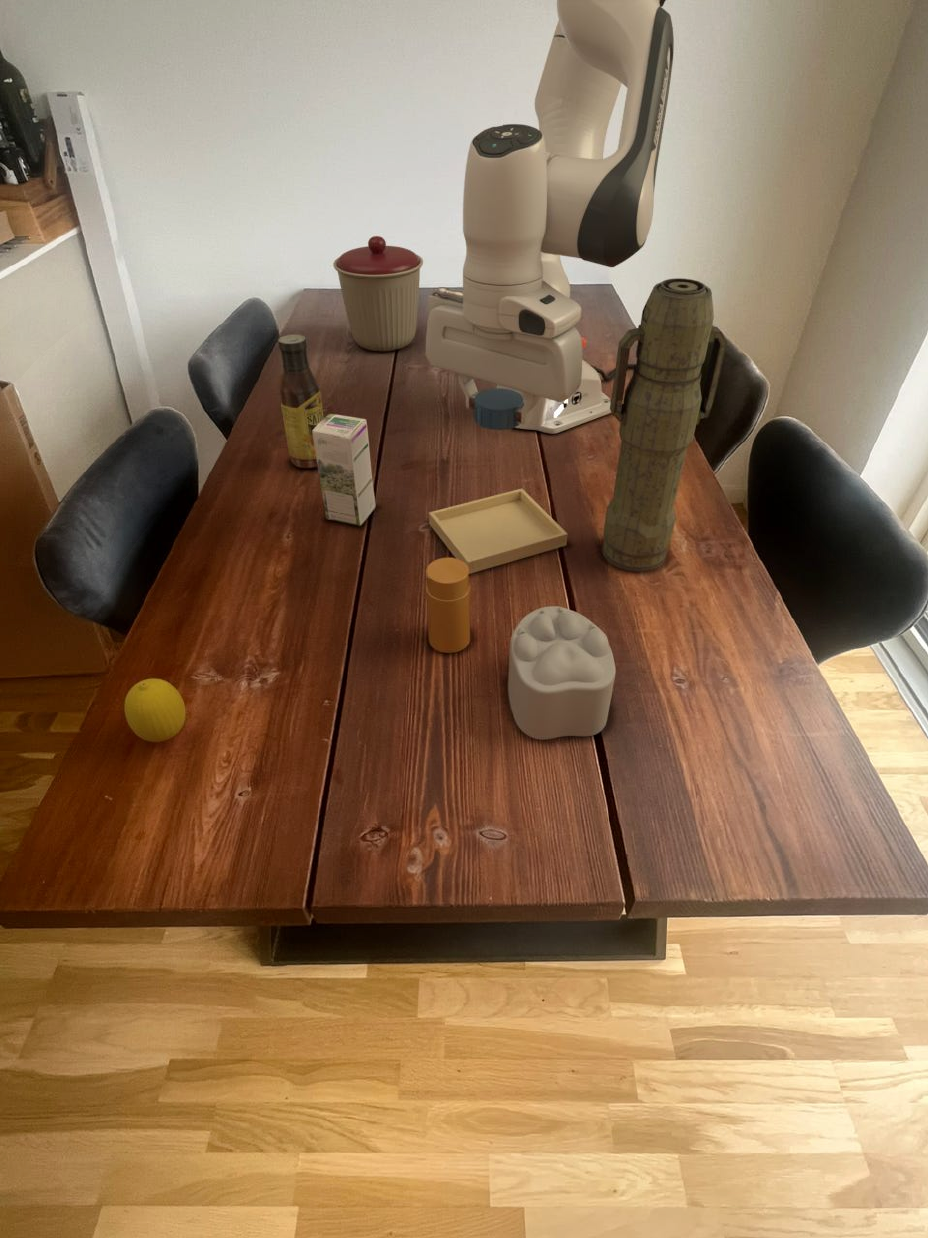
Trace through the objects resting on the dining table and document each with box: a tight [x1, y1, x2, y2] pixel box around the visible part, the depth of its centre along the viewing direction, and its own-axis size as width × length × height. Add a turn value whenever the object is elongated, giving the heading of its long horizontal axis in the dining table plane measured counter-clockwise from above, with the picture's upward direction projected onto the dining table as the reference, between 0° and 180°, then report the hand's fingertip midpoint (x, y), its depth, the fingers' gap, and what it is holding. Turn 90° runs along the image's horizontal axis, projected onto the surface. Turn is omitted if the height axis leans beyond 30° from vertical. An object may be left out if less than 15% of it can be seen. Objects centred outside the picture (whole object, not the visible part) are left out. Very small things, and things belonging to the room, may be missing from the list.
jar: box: [424, 557, 471, 654], centre depth 84 cm, size 5×5×10 cm
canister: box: [332, 235, 424, 352], centre depth 152 cm, size 18×18×21 cm
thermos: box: [602, 277, 728, 573], centre depth 89 cm, size 9×12×35 cm
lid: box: [473, 387, 524, 431], centre depth 91 cm, size 6×6×3 cm
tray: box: [428, 488, 568, 575], centre depth 103 cm, size 15×13×2 cm
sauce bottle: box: [277, 334, 325, 470], centre depth 114 cm, size 7×6×20 cm
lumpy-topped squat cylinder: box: [507, 605, 617, 741], centre depth 78 cm, size 10×13×9 cm
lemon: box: [123, 678, 187, 743], centre depth 74 cm, size 6×6×8 cm
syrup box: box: [312, 413, 377, 527], centre depth 103 cm, size 6×6×14 cm
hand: (498, 415), depth 92 cm, fingers closed on lid, 6 cm apart
